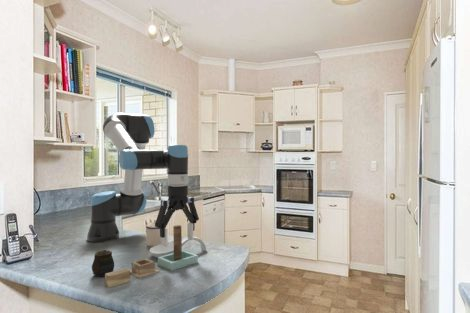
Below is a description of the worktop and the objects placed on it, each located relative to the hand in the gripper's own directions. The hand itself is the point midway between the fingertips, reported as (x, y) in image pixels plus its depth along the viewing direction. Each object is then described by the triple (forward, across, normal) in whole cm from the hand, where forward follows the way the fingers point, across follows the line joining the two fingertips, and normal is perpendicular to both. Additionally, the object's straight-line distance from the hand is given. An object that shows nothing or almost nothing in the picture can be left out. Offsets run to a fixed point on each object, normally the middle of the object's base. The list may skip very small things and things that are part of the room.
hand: (177, 242), depth 119 cm
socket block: (+9, -14, +2) cm, 16 cm away
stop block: (+9, -24, 0) cm, 25 cm away
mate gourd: (+9, -24, +10) cm, 28 cm away
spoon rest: (+9, +7, +10) cm, 15 cm away
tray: (+9, 0, 0) cm, 9 cm away
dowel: (+8, 0, 0) cm, 8 cm away
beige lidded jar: (+9, +9, +31) cm, 34 cm away
